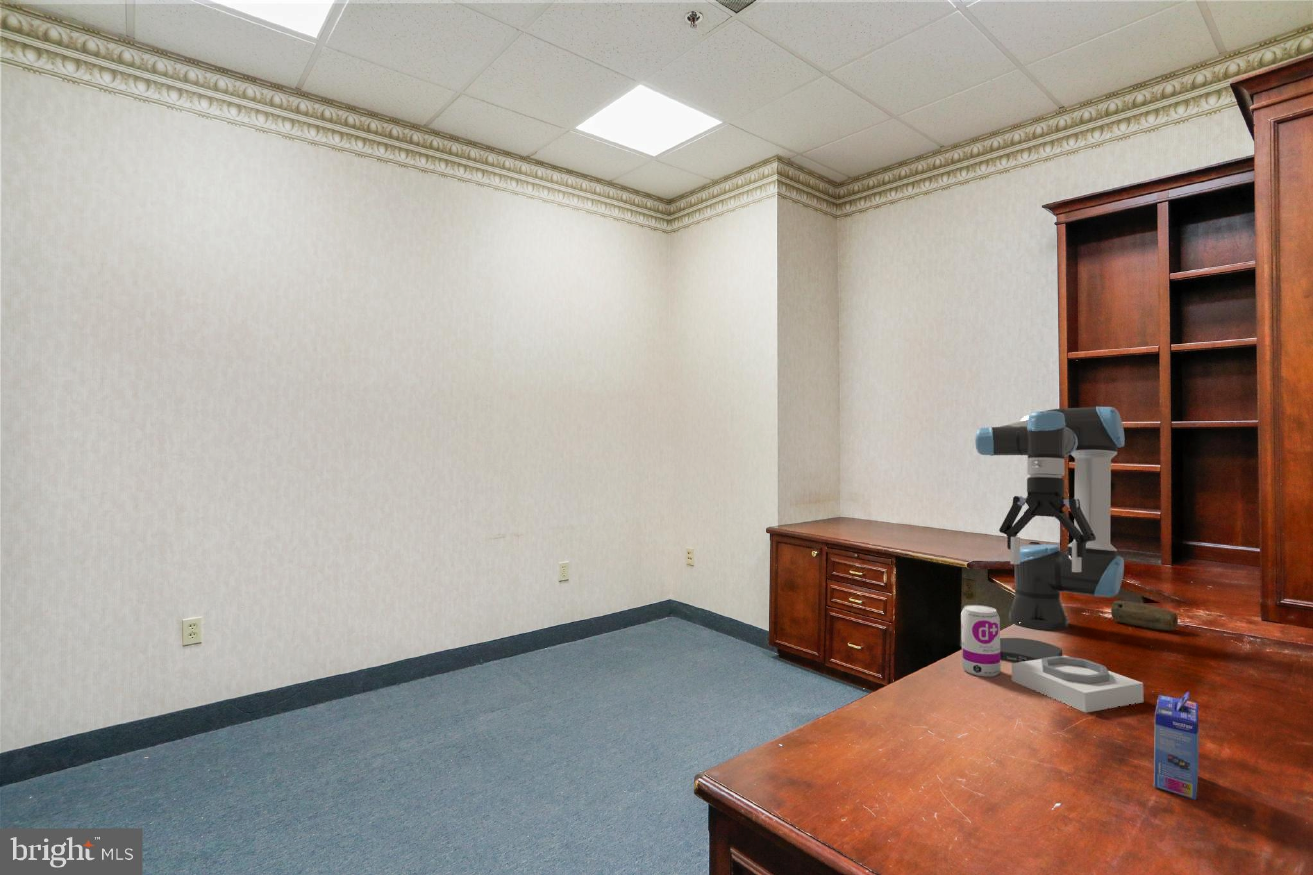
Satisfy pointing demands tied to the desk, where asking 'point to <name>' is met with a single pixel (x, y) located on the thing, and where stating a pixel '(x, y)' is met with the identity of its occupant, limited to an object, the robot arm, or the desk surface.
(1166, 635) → the desk surface
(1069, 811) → the desk surface
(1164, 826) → the desk surface
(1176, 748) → the ink cartridge box
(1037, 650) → the media streaming box
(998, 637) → the supplement can
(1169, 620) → the stone weight
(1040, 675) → the mount base
